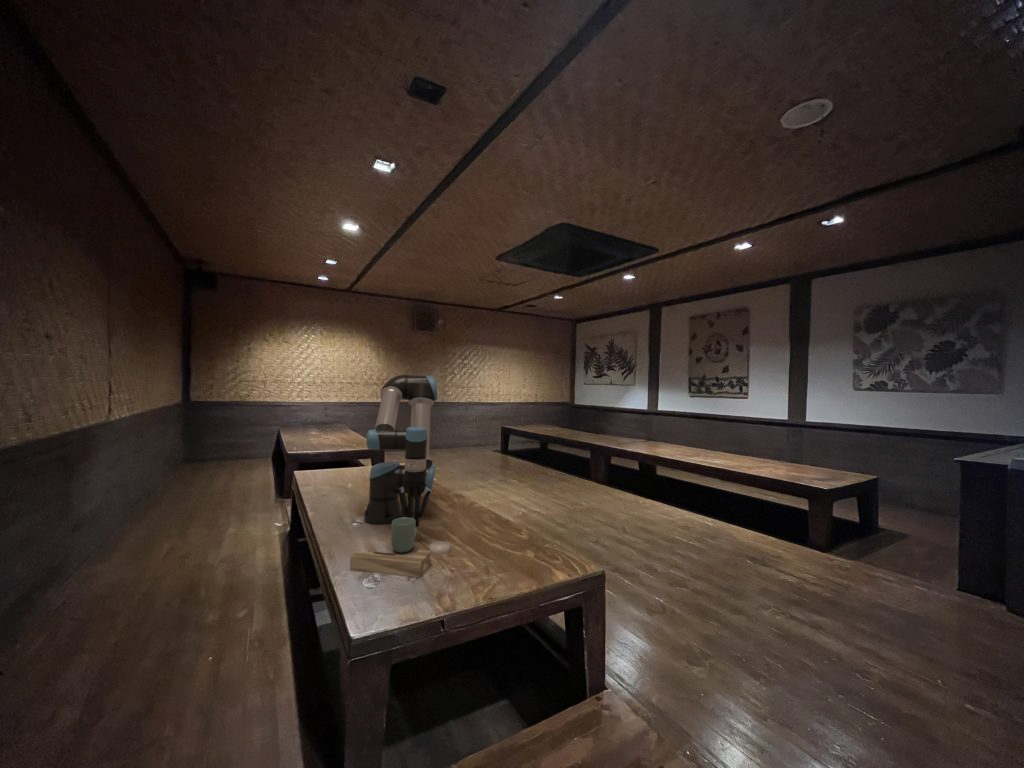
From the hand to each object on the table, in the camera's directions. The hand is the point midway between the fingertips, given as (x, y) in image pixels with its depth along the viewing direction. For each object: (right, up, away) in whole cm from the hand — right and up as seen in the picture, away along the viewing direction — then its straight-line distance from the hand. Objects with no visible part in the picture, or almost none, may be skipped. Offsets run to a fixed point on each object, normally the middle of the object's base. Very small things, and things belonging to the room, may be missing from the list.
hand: (413, 535), depth 142 cm
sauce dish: (+11, -2, -7) cm, 13 cm away
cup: (-1, -2, -8) cm, 9 cm away
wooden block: (-1, -1, -21) cm, 21 cm away
